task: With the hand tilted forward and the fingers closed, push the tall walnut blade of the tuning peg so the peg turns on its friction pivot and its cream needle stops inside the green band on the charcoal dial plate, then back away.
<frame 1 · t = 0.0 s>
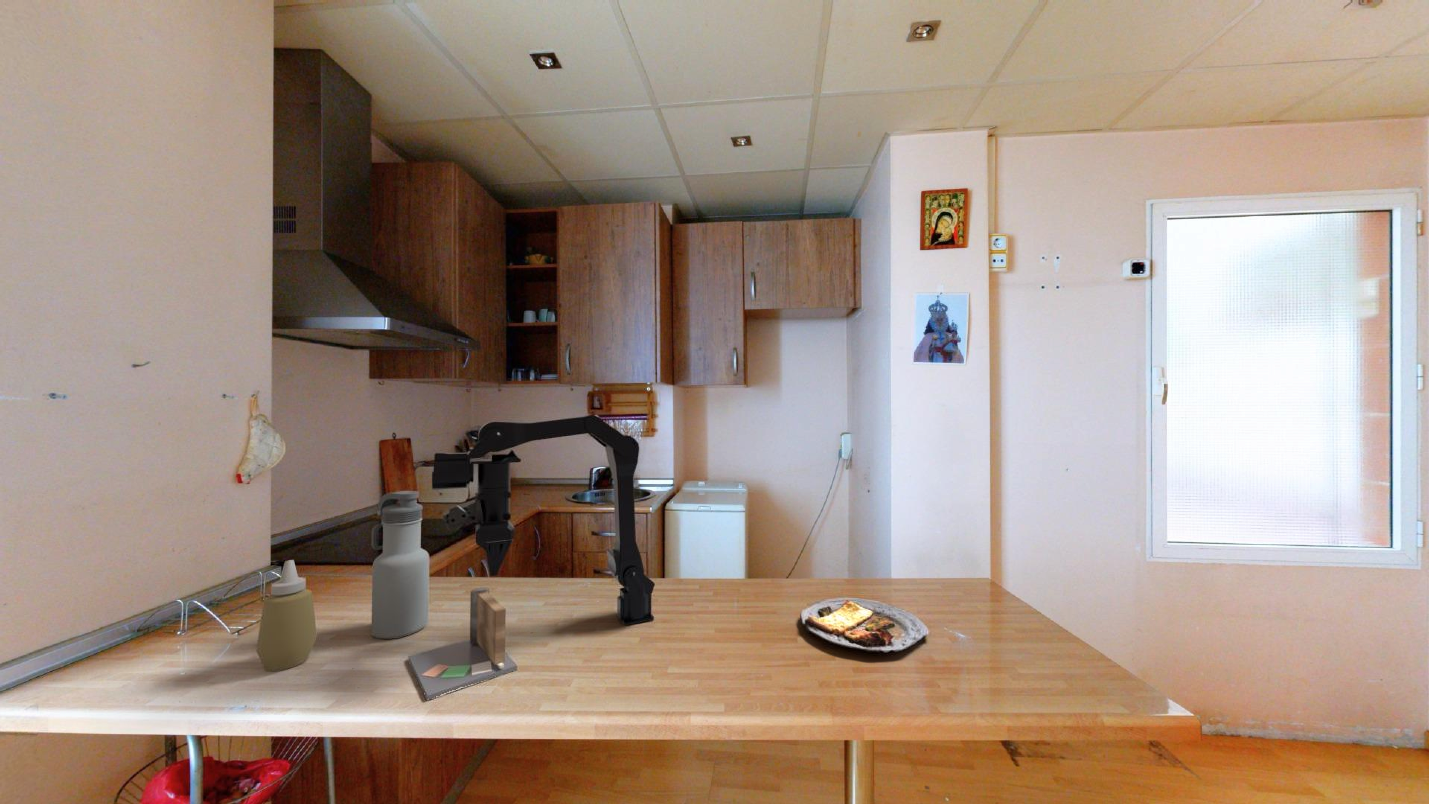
hand: (492, 568, 92), 15 cm above the countertop, tool pointing down, fingers open, 9 cm apart
squeeze bottle: (287, 664, 85), on the countertop
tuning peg: (489, 625, 87), point 6 cm above the countertop, hinge at 0.0°
food plate: (860, 631, 99), on the countertop
water bottle: (399, 630, 98), on the countertop
dial plate: (479, 646, 91), on the countertop
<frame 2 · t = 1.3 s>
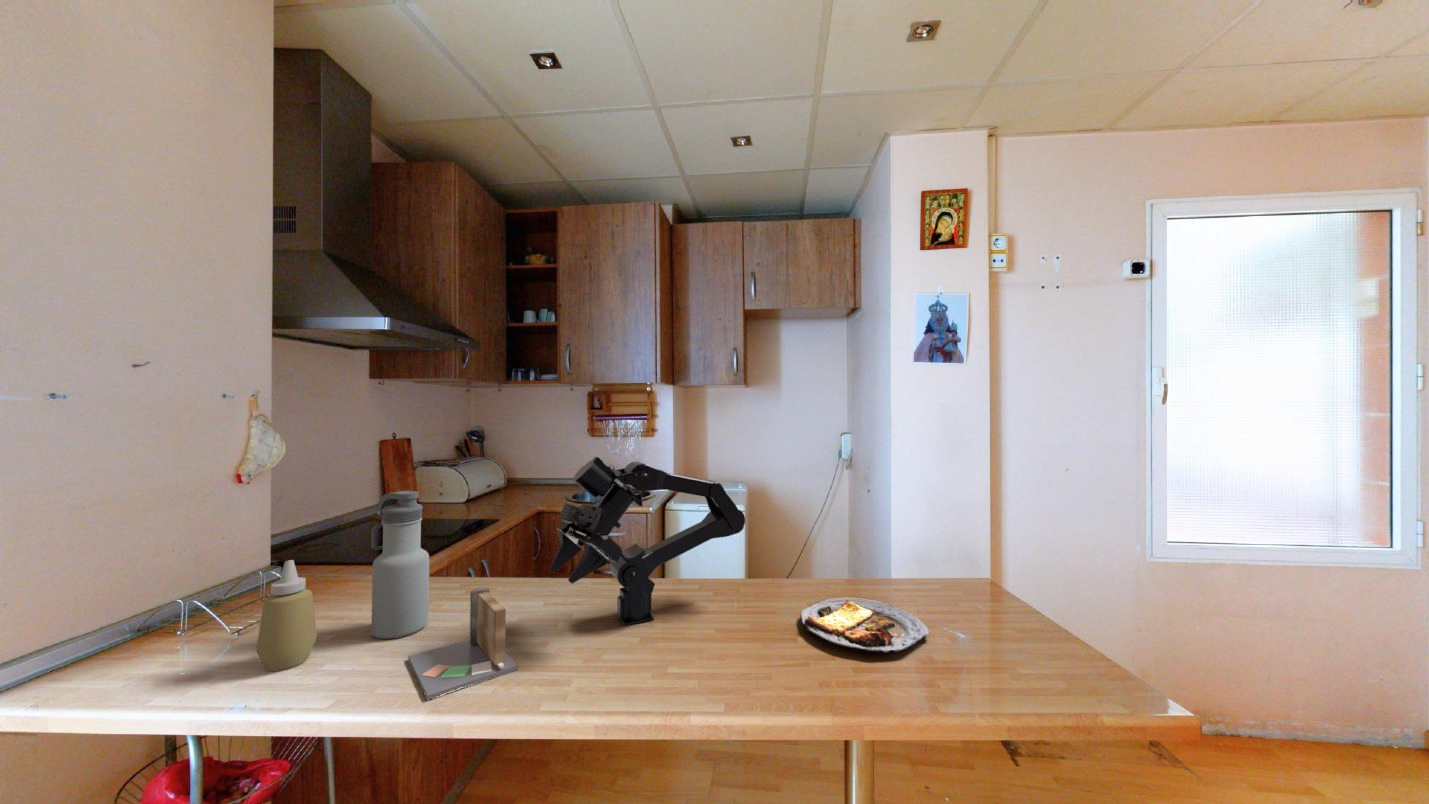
hand: (560, 576, 94), 12 cm above the countertop, tool tilted 45°, fingers open, 8 cm apart
nothing on the countertop moved.
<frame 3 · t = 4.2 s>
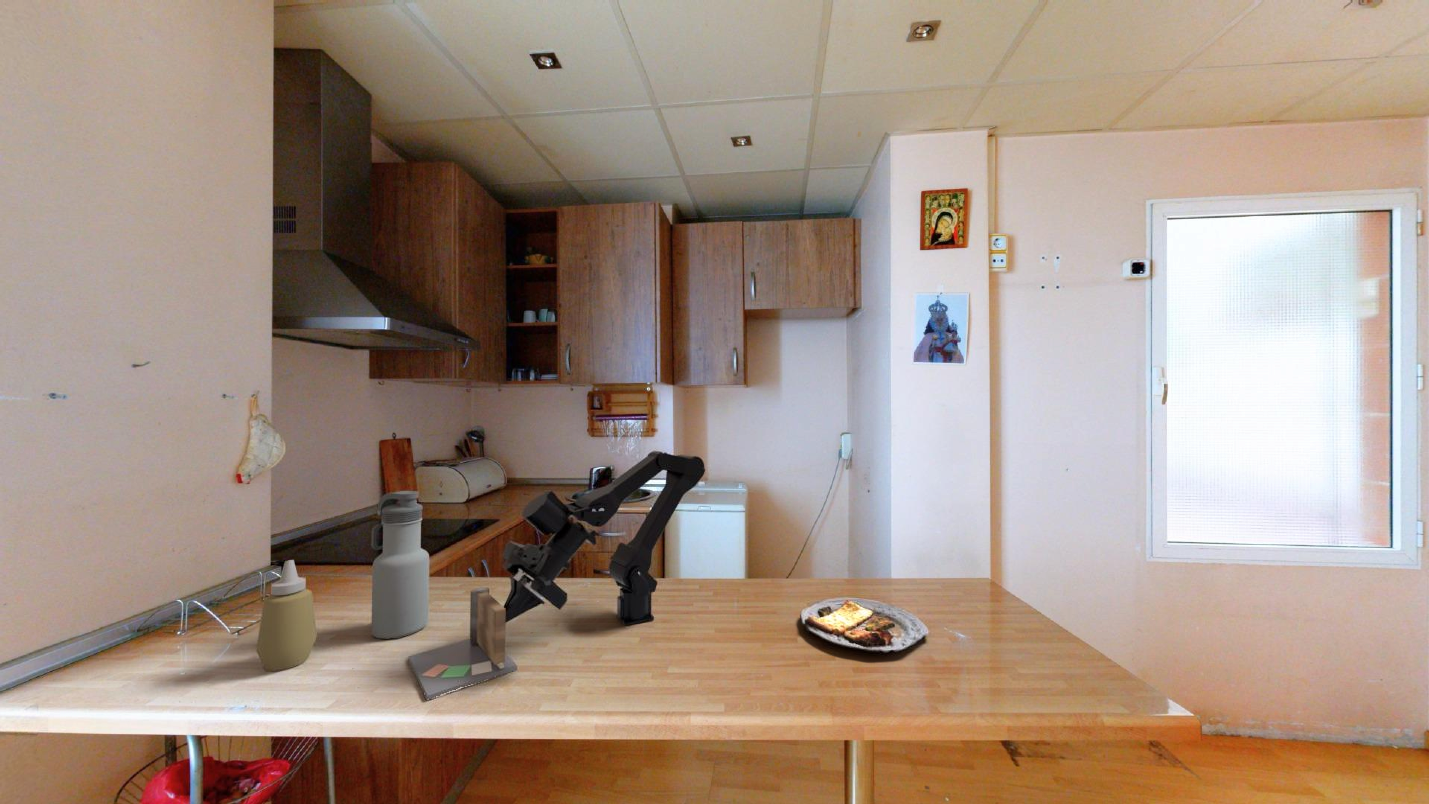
hand: (499, 623, 86), 7 cm above the countertop, tool tilted 45°, fingers closed, pressing on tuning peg
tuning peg: (489, 625, 87), point 6 cm above the countertop, hinge at 0.0°, touching gripper
everything else where it was.
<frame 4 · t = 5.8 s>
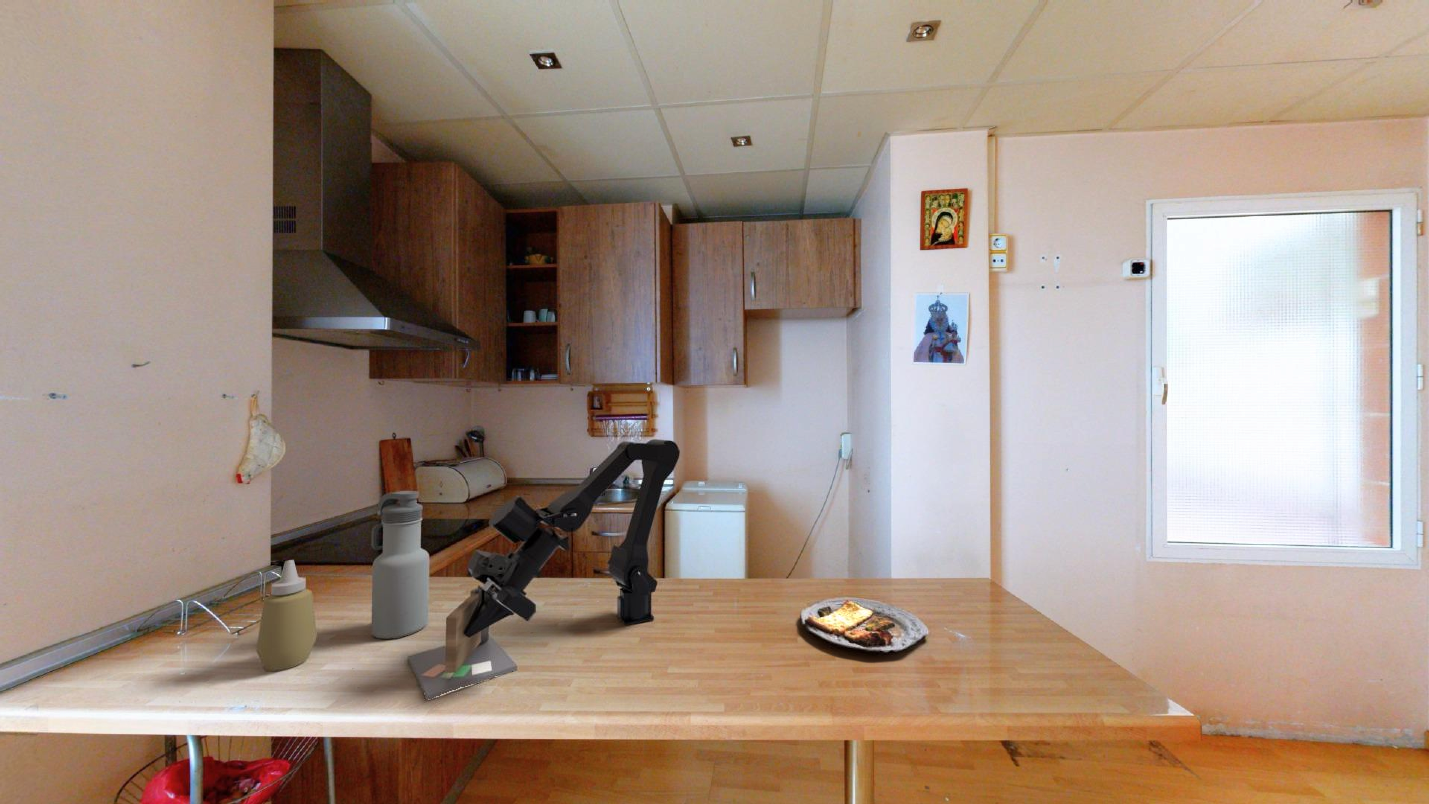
hand: (466, 635, 82), 6 cm above the countertop, tool tilted 45°, fingers closed
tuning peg: (466, 629, 85), point 6 cm above the countertop, hinge at -36.4°, touching gripper
everything else where it was.
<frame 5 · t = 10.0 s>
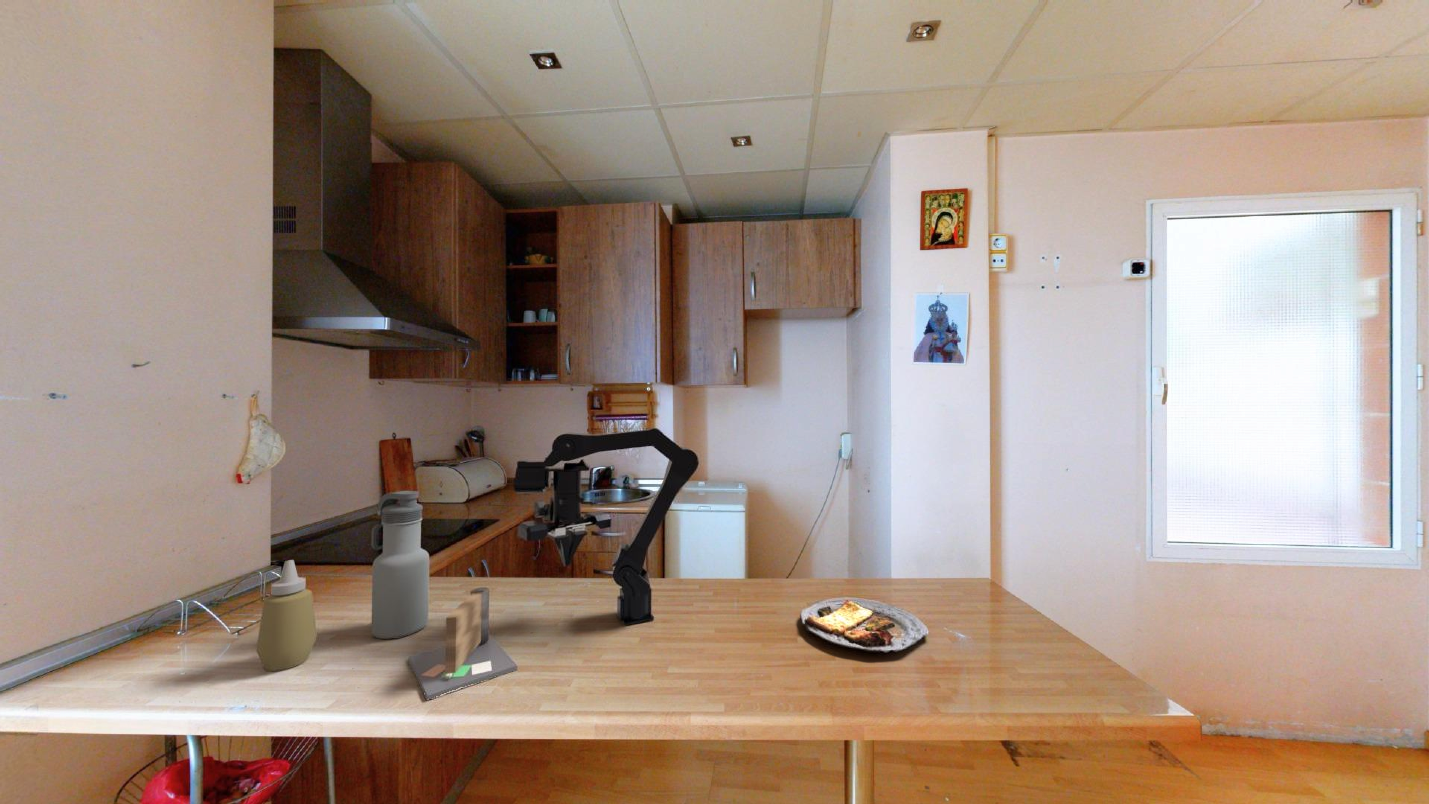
hand: (566, 565, 102), 12 cm above the countertop, tool pointing down, fingers closed
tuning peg: (466, 629, 85), point 6 cm above the countertop, hinge at -36.4°
everything else where it was.
at the end: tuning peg at -36° (first picture: +0°) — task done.
